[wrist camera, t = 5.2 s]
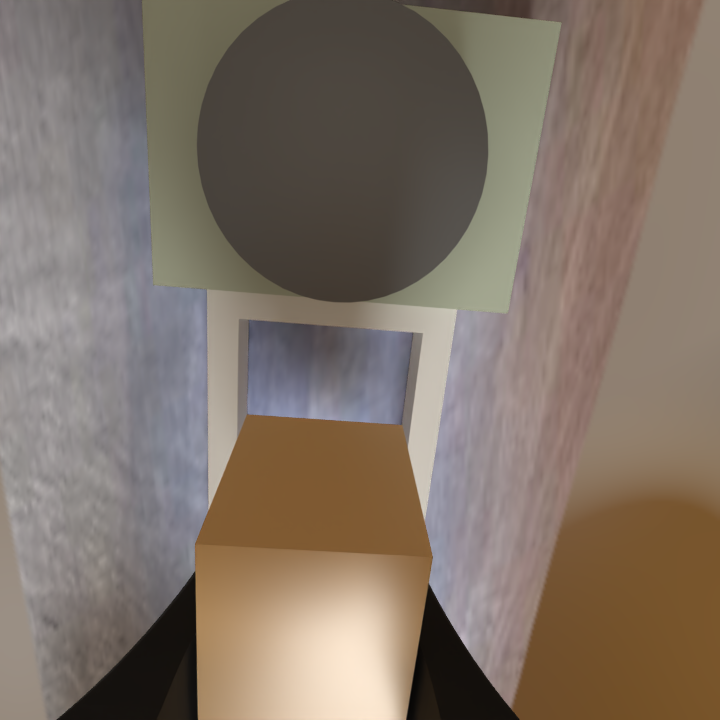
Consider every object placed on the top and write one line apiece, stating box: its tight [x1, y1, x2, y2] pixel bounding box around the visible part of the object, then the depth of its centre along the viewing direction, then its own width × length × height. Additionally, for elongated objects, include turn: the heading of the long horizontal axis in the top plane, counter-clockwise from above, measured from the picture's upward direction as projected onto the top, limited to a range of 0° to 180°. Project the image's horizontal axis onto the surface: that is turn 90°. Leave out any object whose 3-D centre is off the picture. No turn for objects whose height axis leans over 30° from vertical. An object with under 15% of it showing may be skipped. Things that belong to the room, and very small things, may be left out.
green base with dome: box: [142, 0, 562, 521], centre depth 17 cm, size 20×11×5 cm, turn 175°
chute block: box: [195, 415, 433, 720], centre depth 13 cm, size 8×4×5 cm, turn 175°
